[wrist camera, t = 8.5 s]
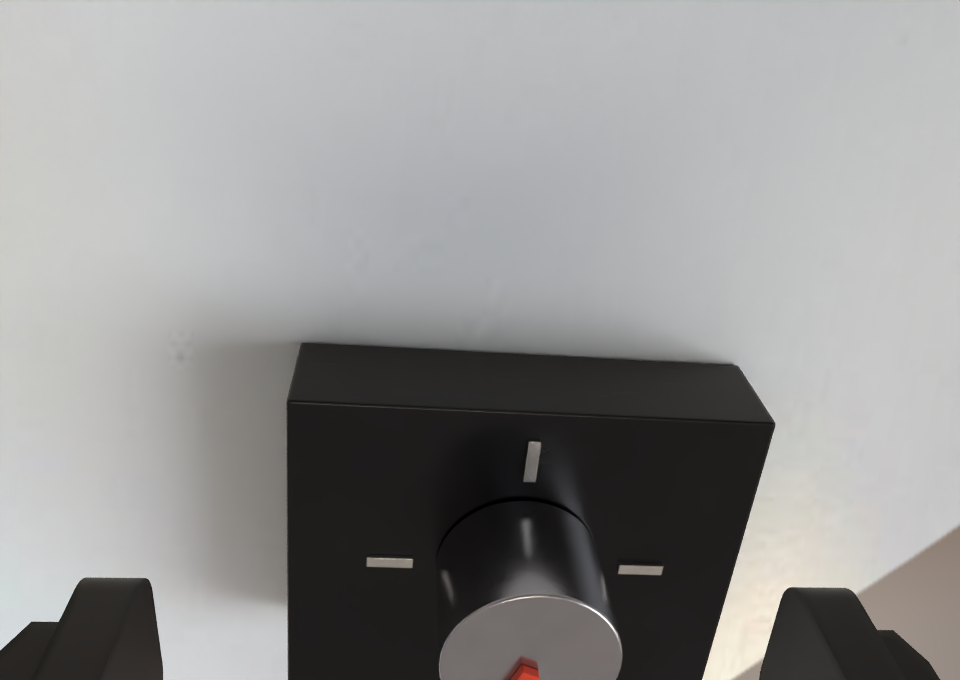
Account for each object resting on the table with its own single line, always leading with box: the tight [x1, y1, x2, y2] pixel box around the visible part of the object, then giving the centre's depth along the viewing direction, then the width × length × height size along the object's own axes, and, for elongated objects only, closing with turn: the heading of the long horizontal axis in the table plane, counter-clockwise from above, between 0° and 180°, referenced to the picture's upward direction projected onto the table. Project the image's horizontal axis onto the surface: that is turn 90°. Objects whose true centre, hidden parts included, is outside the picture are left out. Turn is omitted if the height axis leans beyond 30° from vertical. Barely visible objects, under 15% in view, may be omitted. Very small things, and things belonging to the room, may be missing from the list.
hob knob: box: [436, 501, 623, 680], centre depth 26 cm, size 5×5×4 cm
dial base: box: [287, 343, 775, 680], centre depth 29 cm, size 14×11×4 cm
